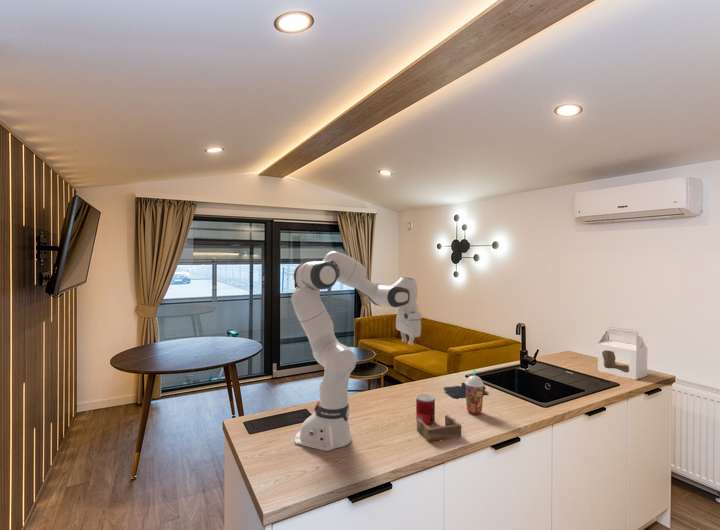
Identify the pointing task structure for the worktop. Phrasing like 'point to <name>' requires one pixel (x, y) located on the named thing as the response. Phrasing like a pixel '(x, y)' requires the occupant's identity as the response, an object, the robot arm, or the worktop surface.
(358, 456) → the worktop surface
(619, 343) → the gable box
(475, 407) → the smoothie
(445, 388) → the dark slate chunk
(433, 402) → the canned food
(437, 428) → the holder
